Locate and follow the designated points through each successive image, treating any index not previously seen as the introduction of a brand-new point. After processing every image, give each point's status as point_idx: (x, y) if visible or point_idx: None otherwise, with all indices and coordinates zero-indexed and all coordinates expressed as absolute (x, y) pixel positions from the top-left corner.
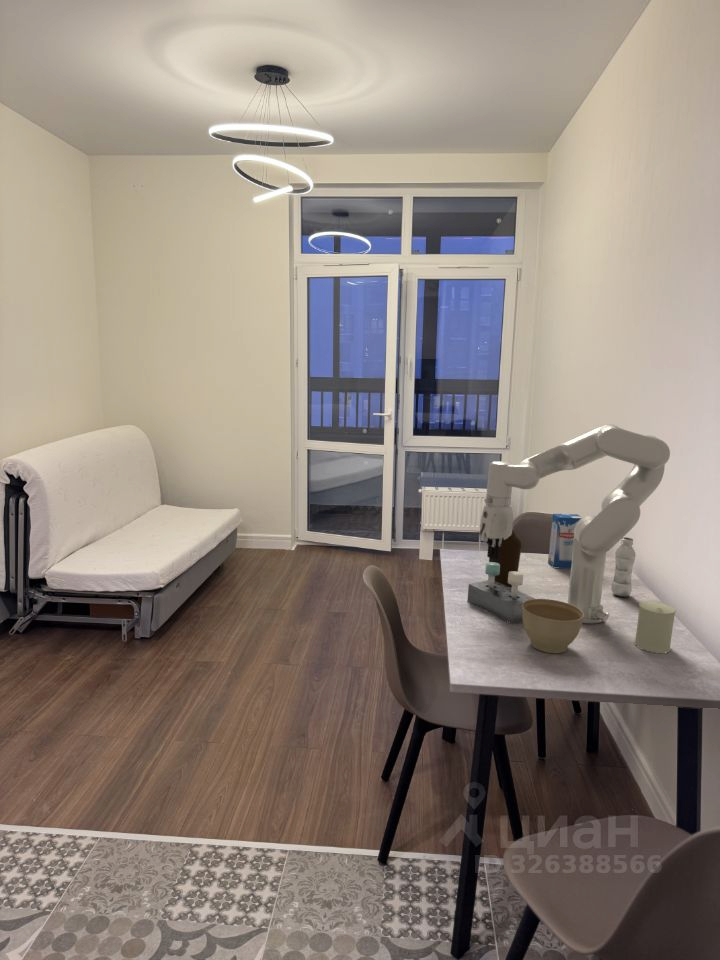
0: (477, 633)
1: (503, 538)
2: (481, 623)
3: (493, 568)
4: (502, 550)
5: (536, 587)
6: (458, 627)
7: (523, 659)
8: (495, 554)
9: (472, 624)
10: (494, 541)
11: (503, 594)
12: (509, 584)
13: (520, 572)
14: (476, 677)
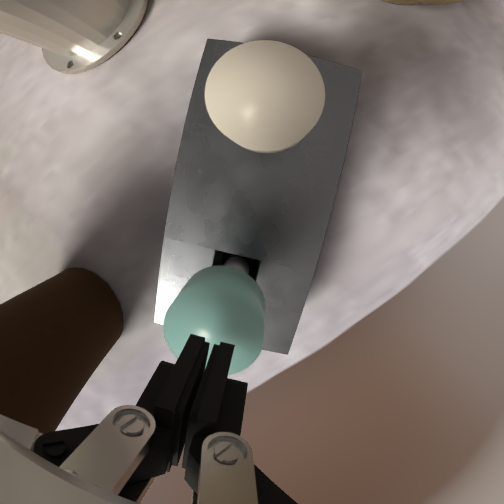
0: (476, 143)
1: (39, 447)
2: (416, 171)
3: (253, 301)
4: (28, 383)
5: (12, 242)
6: (480, 206)
7: (480, 6)
8: (218, 366)
9: (441, 188)
10: (221, 493)
11: (281, 173)
12: (80, 282)
13: (207, 87)
14: None
